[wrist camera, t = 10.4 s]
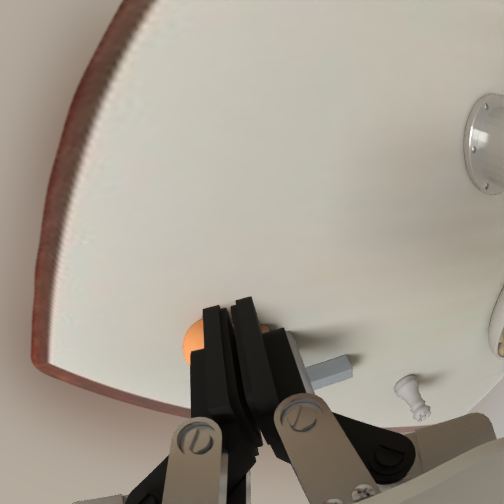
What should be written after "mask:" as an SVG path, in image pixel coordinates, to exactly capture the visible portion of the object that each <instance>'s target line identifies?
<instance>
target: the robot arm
mask: <svg viewBox="0 0 504 504" xmlns="http://www.w3.org/2000/svg"><path fill="white" fill-rule="evenodd" d="M464 153H465V162H466V166H467V171H468V173H469V176H470V178H471V180H472V182H473V183H474V185H475V186H476V187H477V188H478V189H479V190H481V191H483V192H485V193H487V194H490V195H496V194H500V193H502V192H503V191H504V96H503V95H499V94H487V95H484V96H483V97H482V98H480V99H479V100H478V101H477V103H476V104H475V105H474V107H473V109H472V111H471V113H470V116H469V118H468V121H467V126H466V130H465V139H464ZM231 313H232V320H233V325H232V322H231V319H230V317H229V314H228V311H227V309H226V308H222V309H221V308H220V306H219V305H217V306H213V307H209V308H205V309H203V333H204V348H203V349H199V350H195V351H191V354H190V386H191V419H188V420H186V421H184V422H183V423H182V424H180V425H179V426H178V427H177V429H176V430H175V432H174V434H173V437H172V440H171V447H170V453H169V455H168V456H167V457H166V458H165V459H164V461H162V462H161V463H160V464H159V466H157V467H156V468H155V469H154V470H153V471H152V472H151V473H150V474H149V475H148V476H147V477H146V478H145V479H144V480H143V481H142V482H141V483H140V484H139V485H138V486H137V487H136V488H135V489H134V490H132V492H131V493H130V494H129V495H125V496H124V495H122V494H119V495H114V496H109V497H104V498H97V499H91V500H85V501H77V502H75V503H72V504H251V502H250V501H251V489H250V488H251V485H250V484H251V474H250V469H251V467H252V466H253V465H254V464H255V462H256V458H255V456H257V455H259V452H258V447H261V446H263V442H262V437H261V432H262V434H263V436H264V438H265V440H266V442H267V444H268V445H269V444H270V445H271V447H272V449H273V451H274V453H275V455H276V457H277V458H279V459H281V460H283V461H285V462H287V463H290V464H291V465H292V467H293V470H294V472H295V474H296V476H297V478H298V480H299V482H300V484H301V486H302V489H303V491H304V493H305V495H306V497H307V499H308V501H309V503H310V504H504V438H499V439H496V436H495V433H494V429H493V426H492V423H491V422H490V420H489V418H488V417H486V416H485V415H484V414H481V413H470V414H467V415H464V416H461V417H458V418H455V419H452V420H449V421H445V422H442V423H439V424H435V425H432V426H428V427H424V428H420V429H417V430H415V432H413V433H409V434H405V435H402V434H400V433H396V432H393V431H389V430H386V429H382V428H379V427H376V426H372V425H369V424H366V423H363V422H360V421H357V420H354V419H351V418H348V417H345V416H342V415H339V414H336V413H333V412H331V410H330V408H329V407H328V405H327V404H326V402H325V401H324V400H323V399H322V398H320V397H318V396H317V395H314V394H310V393H306V390H305V387H304V384H303V381H302V378H301V375H300V373H299V370H298V367H297V364H296V361H295V358H294V355H293V352H292V349H291V346H290V344H289V341H288V338H287V335H286V332H285V329H284V328H280V329H277V330H273V331H270V332H266V333H262V331H261V327H260V324H259V321H258V317H257V314H256V310H255V307H254V304H253V300H252V297H251V296H250V297H247V298H243V299H239V300H236V305H234V306H231ZM233 326H234V327H233ZM260 430H261V432H260Z"/></svg>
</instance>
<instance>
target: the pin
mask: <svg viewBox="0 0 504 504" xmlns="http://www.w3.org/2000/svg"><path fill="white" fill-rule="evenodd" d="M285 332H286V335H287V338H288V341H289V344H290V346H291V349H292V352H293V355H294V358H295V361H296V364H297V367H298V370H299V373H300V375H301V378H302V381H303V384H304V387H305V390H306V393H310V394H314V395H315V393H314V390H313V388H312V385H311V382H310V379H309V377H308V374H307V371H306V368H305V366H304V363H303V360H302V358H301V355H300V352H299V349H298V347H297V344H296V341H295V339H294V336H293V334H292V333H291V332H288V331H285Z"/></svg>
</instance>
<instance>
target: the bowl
mask: <svg viewBox="0 0 504 504" xmlns="http://www.w3.org/2000/svg"><path fill="white" fill-rule="evenodd" d="M489 345H490V348H491V350H492V352H493V354H494V355H495V356H496V358H497V359H499V360H504V287H503V289H502V291H501V293H500V295H499V298H498V300H497V303H496V305H495V308H494V311H493V314H492V317H491V321H490V326H489Z"/></svg>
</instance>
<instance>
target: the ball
mask: <svg viewBox="0 0 504 504" xmlns="http://www.w3.org/2000/svg"><path fill="white" fill-rule="evenodd" d="M233 327H234V326H233ZM203 348H204V333H203V319H201V320H199V321H197V322H196V323H194V324H193V325H192V326H191V327H190V328H189V329H188V331H187V332H186V334H185V337H184V340H183V353H184V356H185V359H186V361H187V363H188V364H189V365H190V354H191V351H195V350H199V349H203Z"/></svg>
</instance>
